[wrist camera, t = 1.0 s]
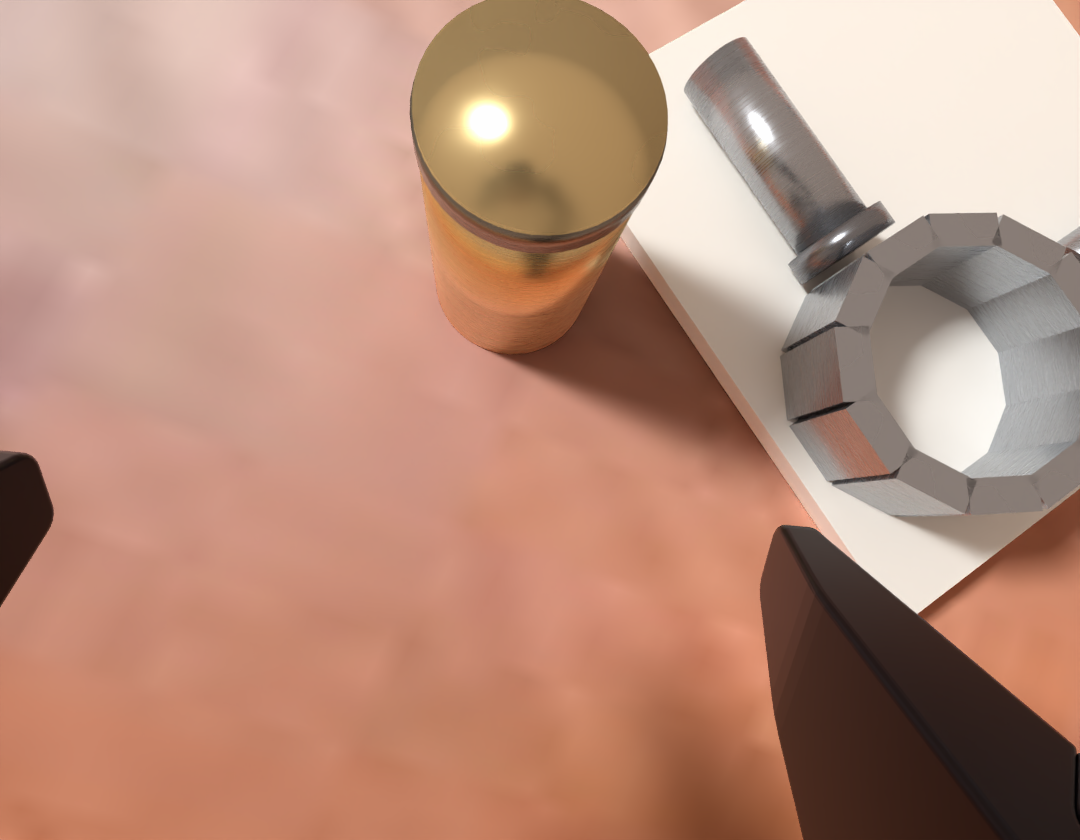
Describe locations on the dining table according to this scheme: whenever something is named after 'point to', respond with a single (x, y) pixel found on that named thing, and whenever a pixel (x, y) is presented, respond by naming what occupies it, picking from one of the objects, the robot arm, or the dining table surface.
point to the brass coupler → (531, 161)
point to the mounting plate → (907, 193)
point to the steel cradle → (858, 291)
